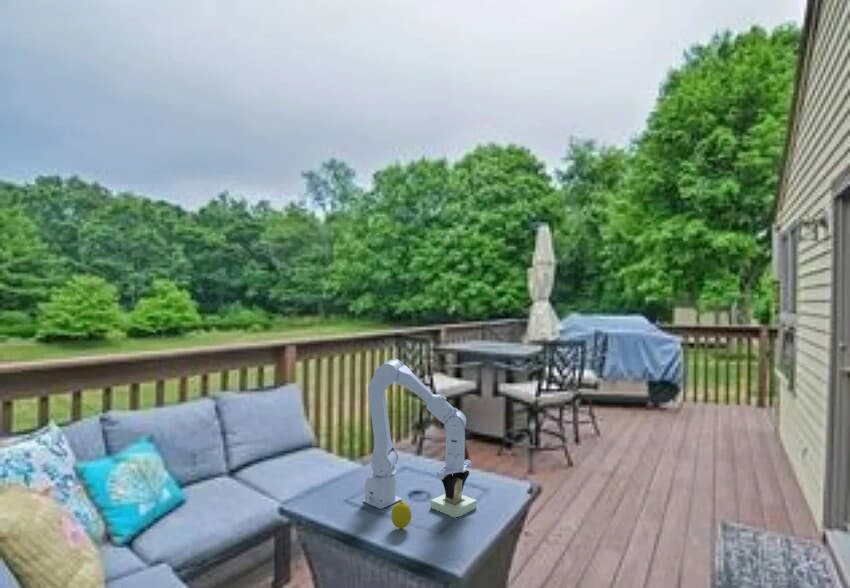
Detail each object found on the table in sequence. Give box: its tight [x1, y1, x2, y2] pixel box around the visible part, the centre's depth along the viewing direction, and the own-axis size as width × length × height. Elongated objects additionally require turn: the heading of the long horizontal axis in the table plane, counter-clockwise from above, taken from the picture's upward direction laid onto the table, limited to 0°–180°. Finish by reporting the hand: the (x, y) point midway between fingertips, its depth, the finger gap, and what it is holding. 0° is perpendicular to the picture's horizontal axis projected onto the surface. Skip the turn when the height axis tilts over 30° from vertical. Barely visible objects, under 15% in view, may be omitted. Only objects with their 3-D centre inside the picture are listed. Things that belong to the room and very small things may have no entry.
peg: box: [444, 477, 463, 505], centre depth 178 cm, size 4×4×8 cm
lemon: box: [391, 500, 412, 530], centre depth 164 cm, size 6×6×8 cm
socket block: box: [430, 493, 478, 518], centre depth 178 cm, size 10×10×2 cm
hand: (453, 495), depth 178 cm, fingers closed on peg, 3 cm apart
